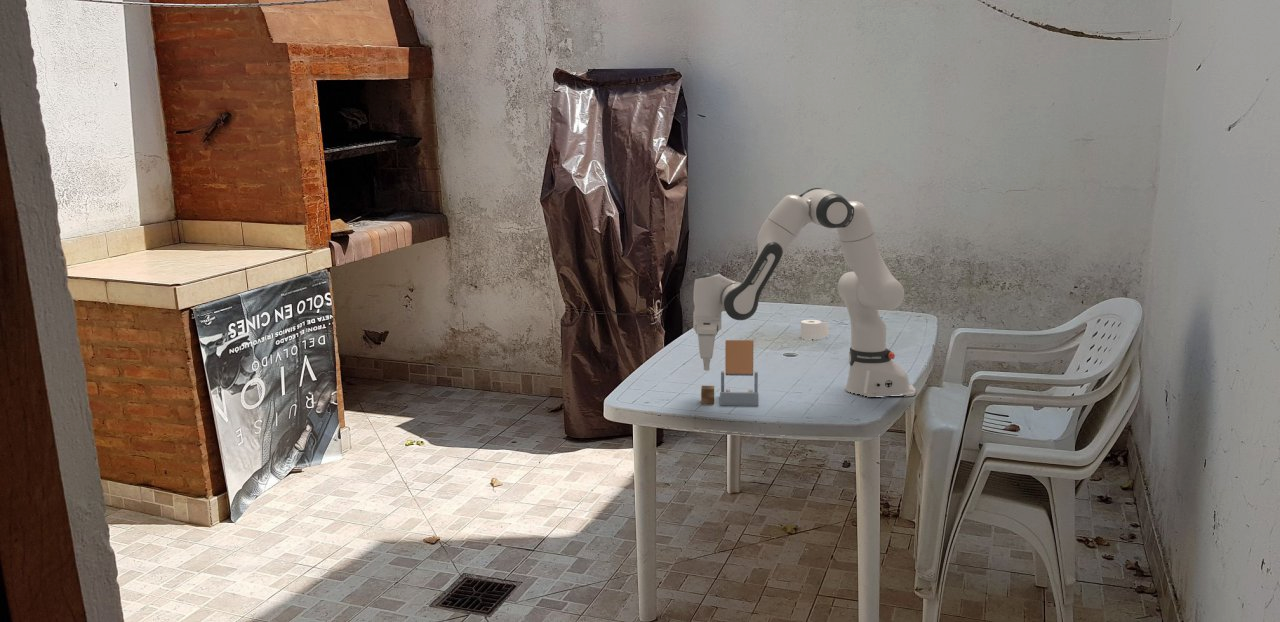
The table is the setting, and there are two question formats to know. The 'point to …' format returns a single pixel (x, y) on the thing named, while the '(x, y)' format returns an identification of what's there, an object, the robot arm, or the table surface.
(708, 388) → the block
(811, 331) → the toilet paper
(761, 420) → the table surface
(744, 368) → the lid
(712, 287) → the robot arm
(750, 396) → the housing base
